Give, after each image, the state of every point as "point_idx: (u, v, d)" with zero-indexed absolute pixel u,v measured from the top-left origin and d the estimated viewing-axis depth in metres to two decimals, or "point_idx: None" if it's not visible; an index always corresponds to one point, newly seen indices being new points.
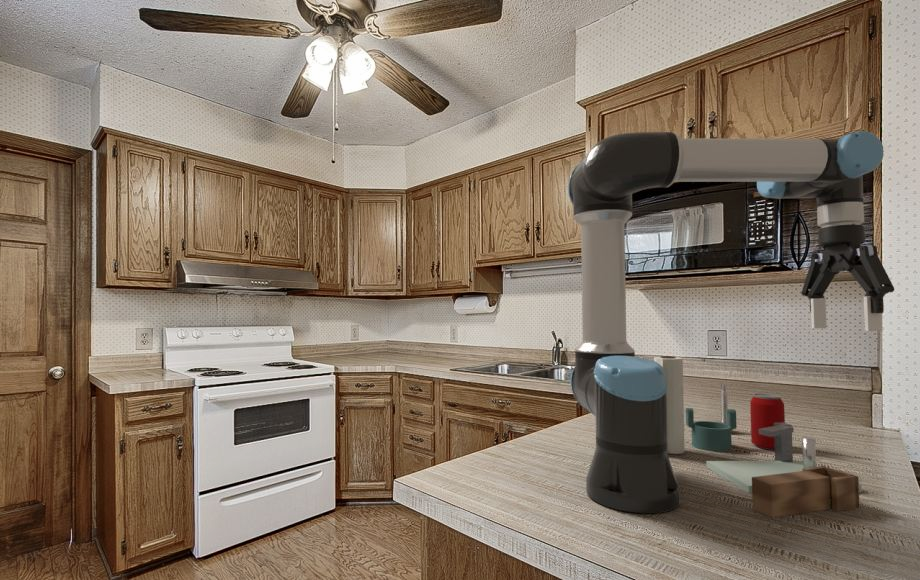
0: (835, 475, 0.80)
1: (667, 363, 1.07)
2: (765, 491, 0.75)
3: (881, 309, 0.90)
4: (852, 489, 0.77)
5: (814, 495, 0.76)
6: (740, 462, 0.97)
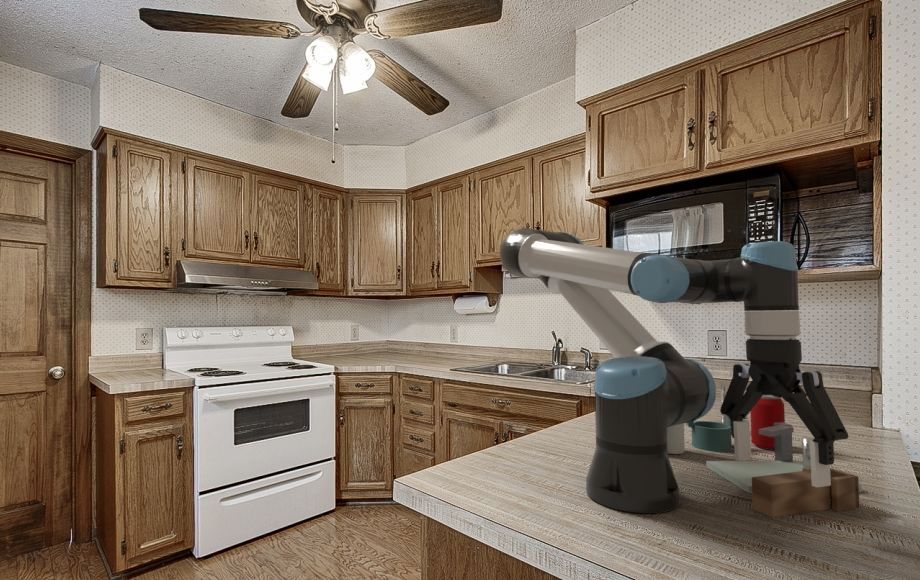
0: (835, 475, 0.80)
1: None
2: (765, 491, 0.75)
3: (832, 460, 0.69)
4: (852, 489, 0.77)
5: (814, 495, 0.76)
6: (740, 462, 0.97)
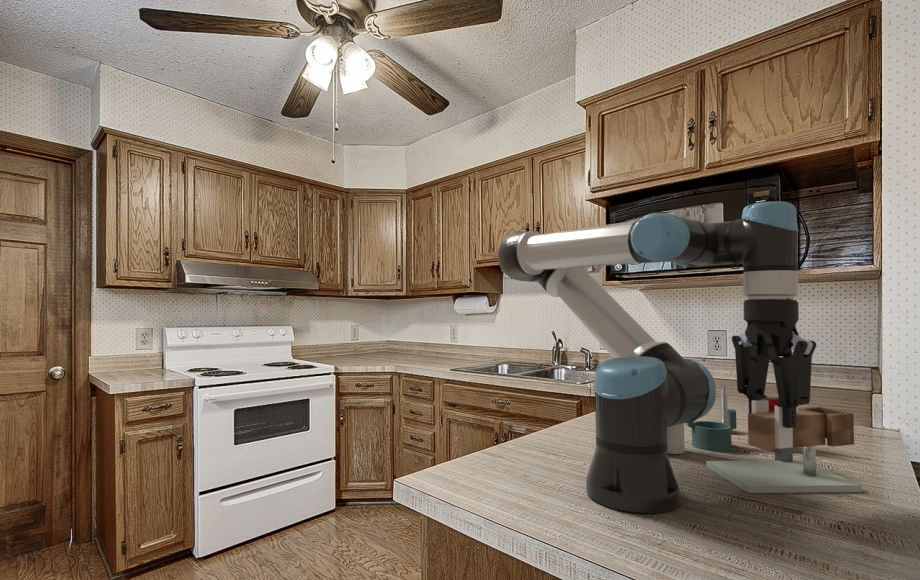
0: (830, 414, 0.81)
1: None
2: (760, 425, 0.76)
3: (794, 423, 0.74)
4: (847, 425, 0.78)
5: (809, 431, 0.77)
6: (740, 462, 0.97)
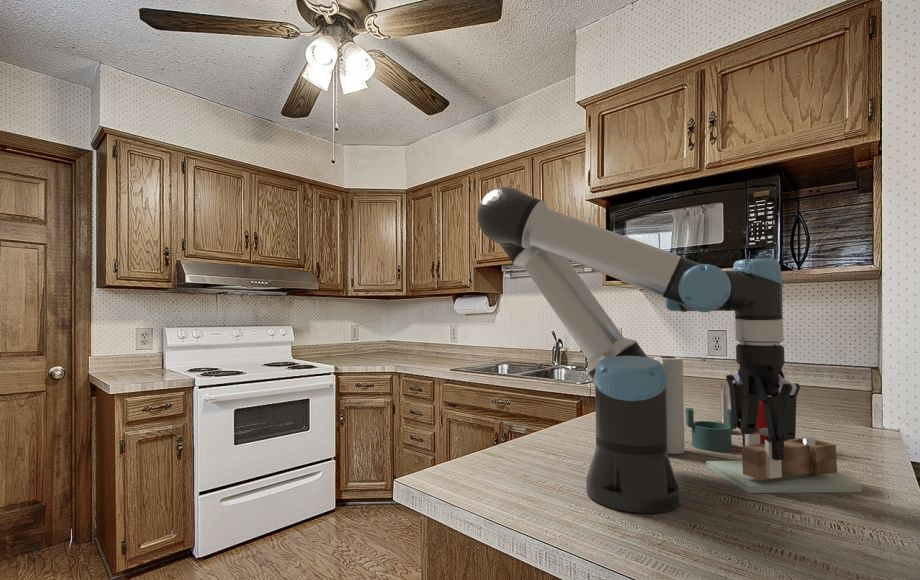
0: (816, 444, 0.91)
1: (667, 363, 1.07)
2: (753, 457, 0.85)
3: (782, 456, 0.83)
4: (830, 456, 0.88)
5: (797, 461, 0.87)
6: (740, 462, 0.97)
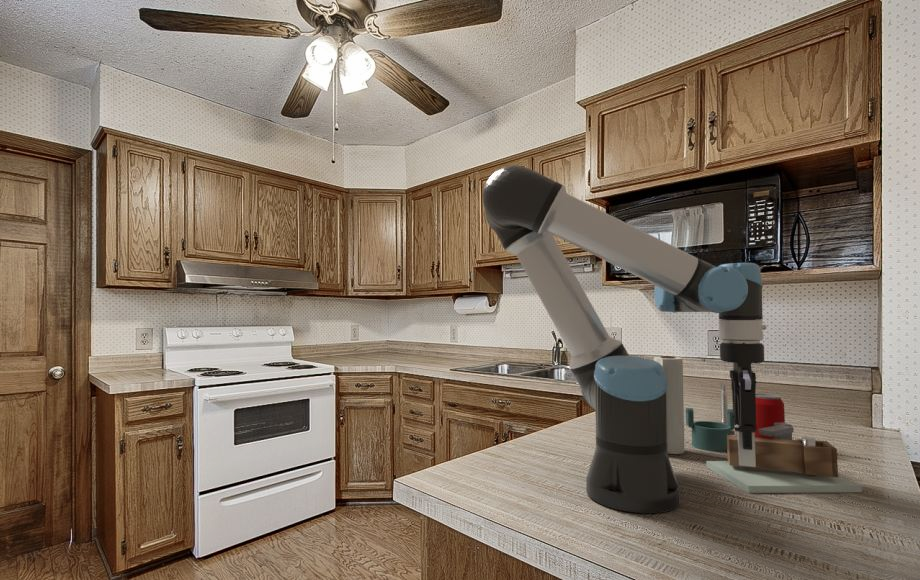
0: None
1: (667, 363, 1.07)
2: (728, 445, 0.94)
3: (749, 446, 0.90)
4: (827, 459, 0.86)
5: (782, 457, 0.90)
6: None
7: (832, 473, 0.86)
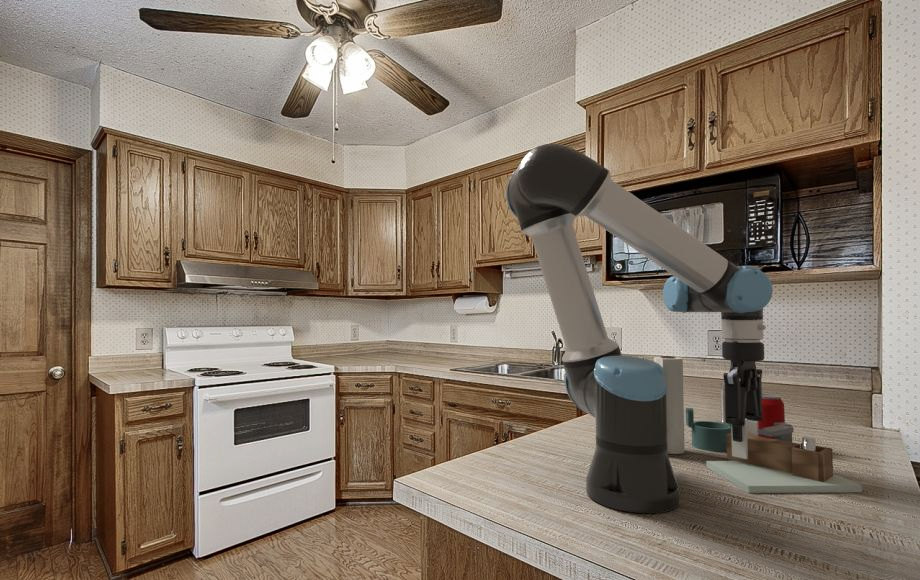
0: None
1: (667, 363, 1.07)
2: None
3: (737, 438, 0.96)
4: (814, 463, 0.87)
5: (774, 457, 0.93)
6: (740, 462, 0.97)
7: (818, 477, 0.86)
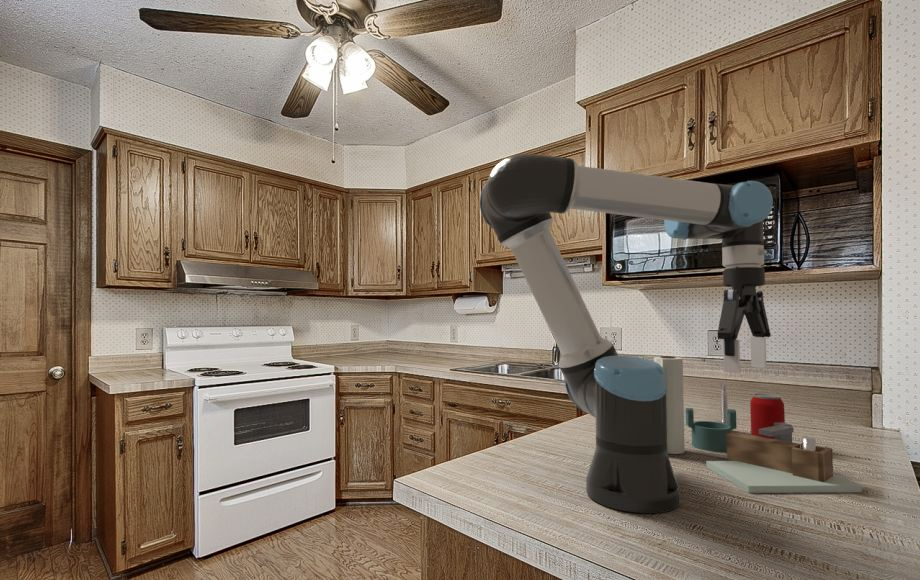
0: None
1: (667, 363, 1.07)
2: None
3: (729, 352, 0.94)
4: (814, 463, 0.87)
5: (774, 457, 0.93)
6: (740, 462, 0.97)
7: (818, 477, 0.86)
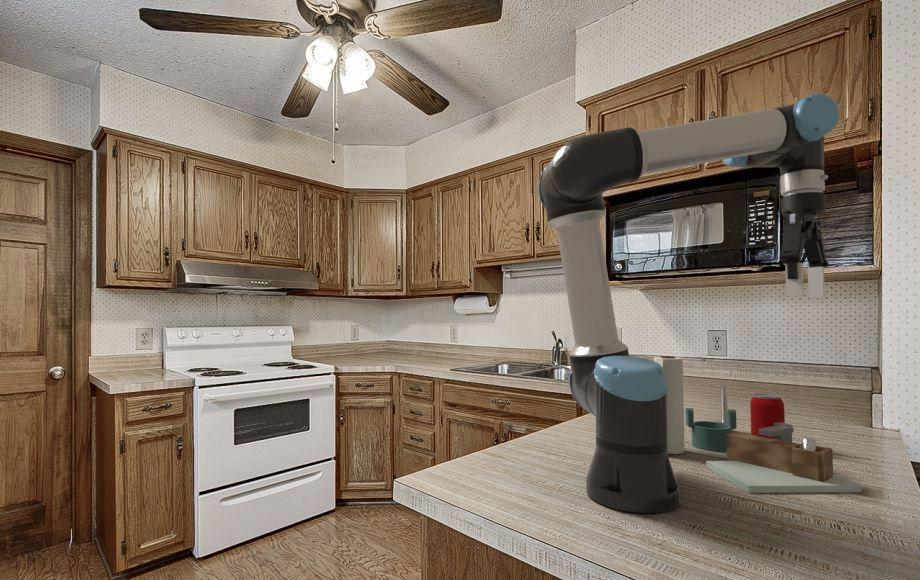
0: None
1: (667, 363, 1.07)
2: None
3: (793, 275, 0.93)
4: (814, 463, 0.87)
5: (774, 457, 0.93)
6: (740, 462, 0.97)
7: (818, 477, 0.86)
